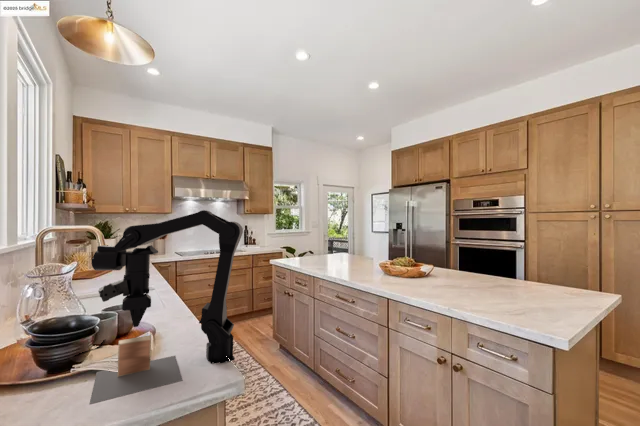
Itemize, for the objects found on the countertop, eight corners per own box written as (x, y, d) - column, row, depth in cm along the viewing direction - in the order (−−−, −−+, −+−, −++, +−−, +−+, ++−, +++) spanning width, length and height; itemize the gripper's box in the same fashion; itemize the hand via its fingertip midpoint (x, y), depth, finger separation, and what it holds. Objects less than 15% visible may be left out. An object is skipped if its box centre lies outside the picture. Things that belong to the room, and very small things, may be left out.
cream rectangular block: (149, 364, 78) (150, 334, 78) (150, 369, 76) (151, 338, 76) (117, 371, 74) (119, 340, 74) (117, 377, 72) (118, 344, 72)
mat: (175, 357, 84) (175, 355, 84) (182, 382, 71) (182, 380, 71) (96, 374, 74) (96, 371, 74) (89, 407, 61) (89, 404, 61)
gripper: (104, 267, 85) (102, 321, 84) (97, 279, 69) (95, 345, 69) (148, 264, 91) (147, 315, 90) (152, 275, 75) (150, 336, 75)
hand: (135, 326), depth 81 cm, fingers closed
